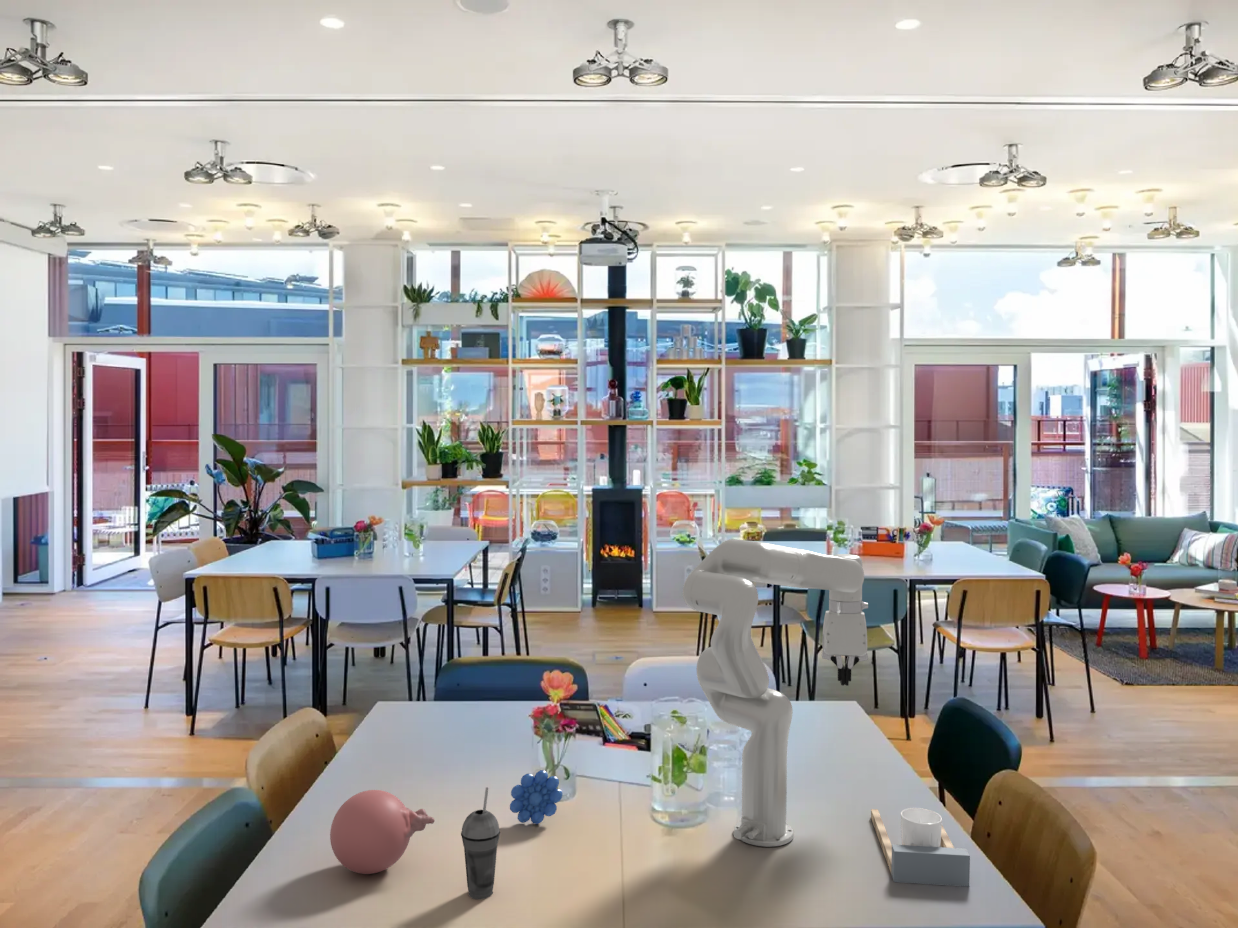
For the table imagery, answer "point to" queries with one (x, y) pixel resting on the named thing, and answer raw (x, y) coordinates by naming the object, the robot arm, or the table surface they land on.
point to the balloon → (374, 831)
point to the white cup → (921, 827)
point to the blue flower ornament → (535, 797)
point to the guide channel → (885, 839)
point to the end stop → (930, 865)
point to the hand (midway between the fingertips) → (844, 683)
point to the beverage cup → (480, 851)
